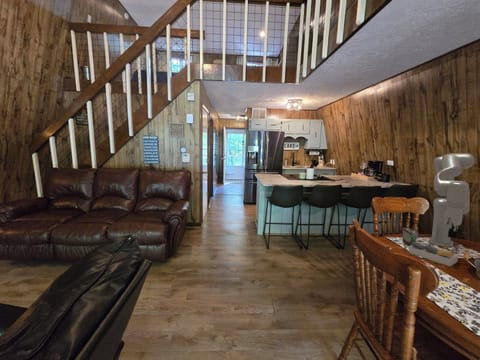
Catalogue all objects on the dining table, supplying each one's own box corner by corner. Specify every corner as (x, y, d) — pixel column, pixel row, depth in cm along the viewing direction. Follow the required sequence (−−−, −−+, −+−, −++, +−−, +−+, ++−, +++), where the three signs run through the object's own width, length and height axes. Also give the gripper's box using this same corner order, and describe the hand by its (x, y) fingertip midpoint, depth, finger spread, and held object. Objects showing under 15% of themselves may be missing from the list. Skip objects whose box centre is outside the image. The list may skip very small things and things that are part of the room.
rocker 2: (426, 247, 136) (427, 244, 135) (437, 252, 131) (438, 250, 131) (422, 249, 134) (423, 246, 133) (434, 254, 129) (435, 251, 128)
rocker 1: (413, 243, 141) (414, 241, 141) (424, 248, 137) (425, 246, 136) (410, 245, 139) (411, 242, 139) (420, 250, 135) (421, 247, 134)
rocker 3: (440, 253, 130) (440, 250, 130) (453, 255, 125) (452, 252, 125) (437, 255, 128) (436, 252, 128) (450, 257, 123) (449, 253, 123)
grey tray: (416, 249, 145) (416, 243, 144) (457, 262, 128) (458, 255, 127) (408, 252, 140) (409, 246, 140) (450, 266, 123) (450, 259, 122)
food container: (421, 249, 145) (422, 234, 144) (410, 248, 146) (412, 233, 145) (411, 241, 157) (412, 228, 156) (401, 241, 158) (402, 227, 157)
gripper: (451, 202, 128) (448, 233, 130) (440, 205, 121) (437, 237, 122) (470, 204, 121) (466, 237, 123) (459, 207, 114) (455, 242, 116)
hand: (452, 237), depth 123 cm, fingers closed
